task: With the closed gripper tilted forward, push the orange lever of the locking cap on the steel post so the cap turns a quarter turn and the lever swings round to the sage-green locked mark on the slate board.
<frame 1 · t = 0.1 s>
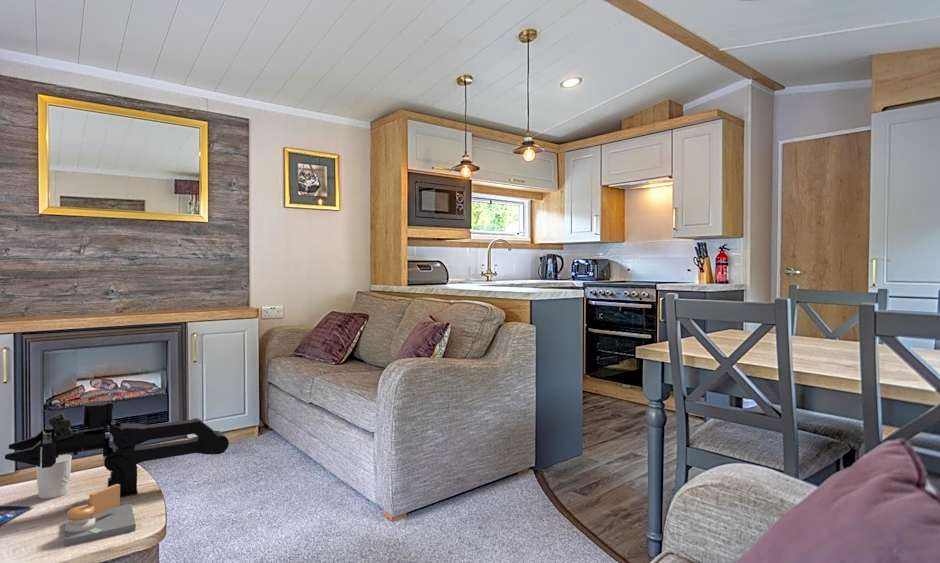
hand: (6, 451, 134), 17 cm above the table, tool horizontal, fingers open, 9 cm apart
lever cap: (95, 503, 130), point 6 cm above the table, hinge at 0.0°
white cup: (53, 494, 148), on the table
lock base: (100, 526, 130), on the table
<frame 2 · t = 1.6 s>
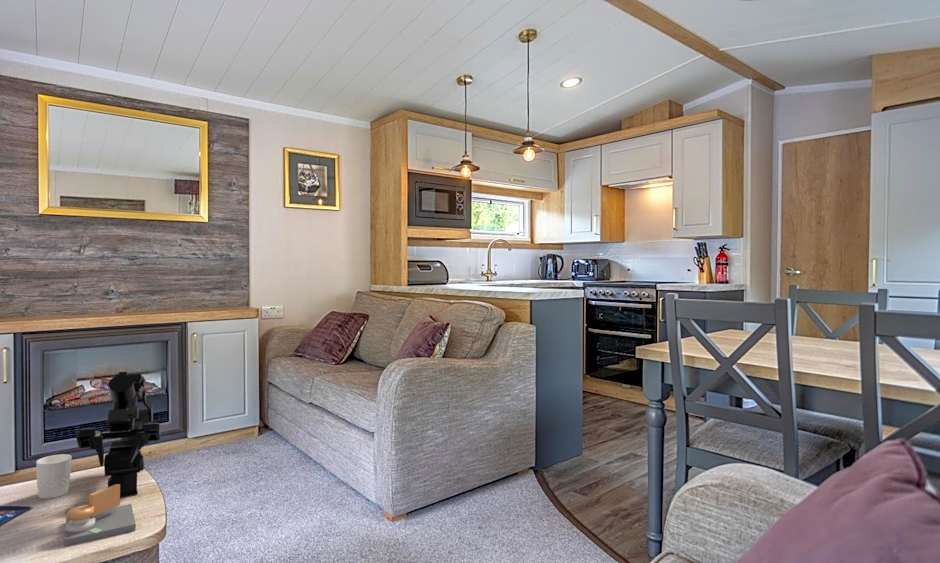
hand: (116, 464, 137), 13 cm above the table, tool tilted 45°, fingers open, 6 cm apart
nothing on the table moved.
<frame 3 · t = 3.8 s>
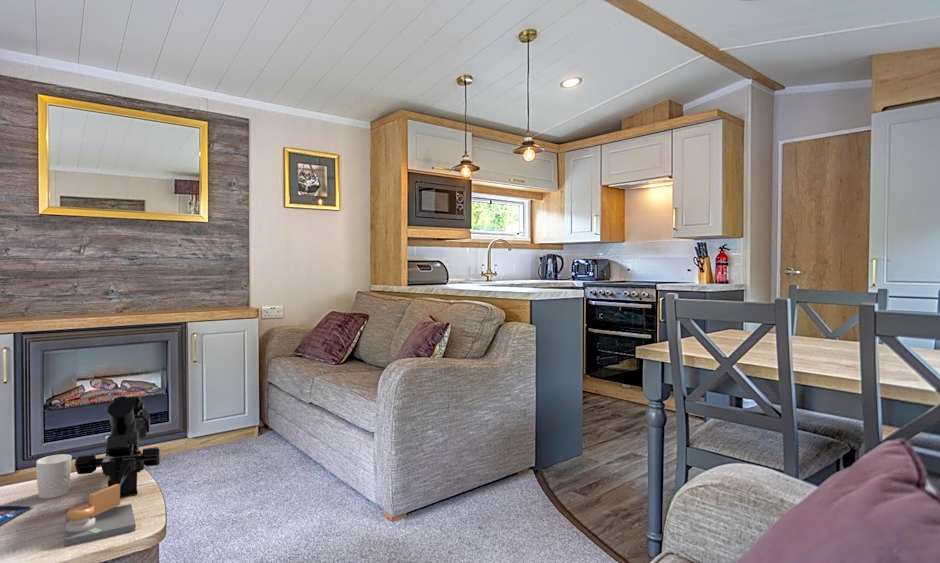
hand: (115, 490, 136), 7 cm above the table, tool tilted 45°, fingers closed
lever cap: (95, 503, 130), point 6 cm above the table, hinge at 0.0°, touching gripper
everything else where it was.
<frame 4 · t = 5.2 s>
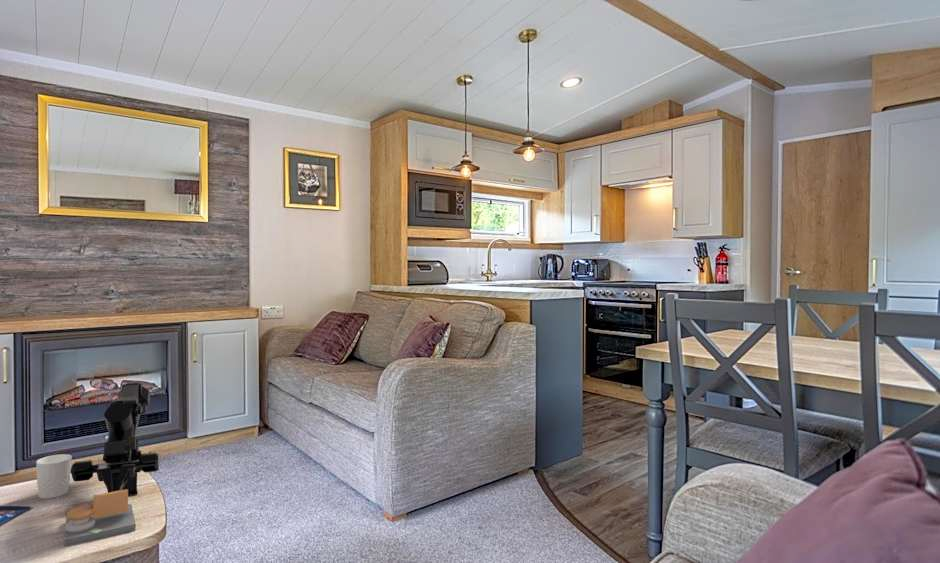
hand: (113, 498, 131), 7 cm above the table, tool tilted 45°, fingers closed, pressing on lever cap
lever cap: (98, 505, 128), point 6 cm above the table, hinge at -33.8°, touching gripper
everything else where it was.
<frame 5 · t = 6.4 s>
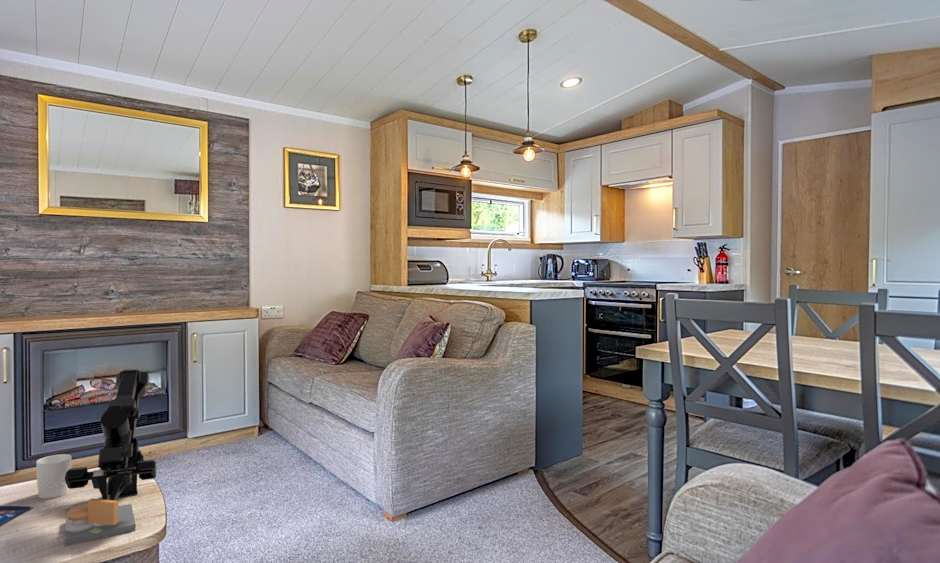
hand: (107, 507, 127), 6 cm above the table, tool tilted 45°, fingers closed
lever cap: (93, 510, 126), point 6 cm above the table, hinge at -79.5°, touching gripper
everything else where it was.
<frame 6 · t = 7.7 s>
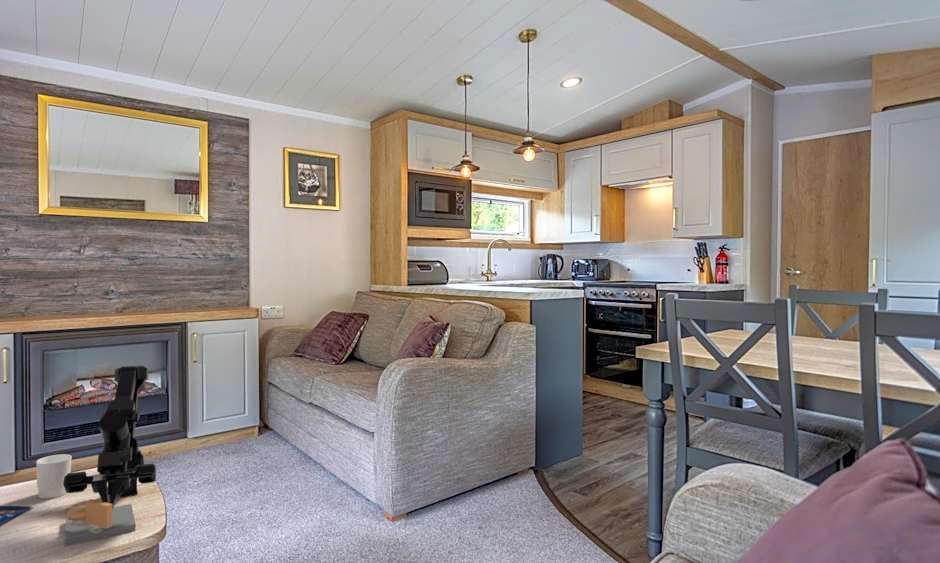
hand: (107, 512, 125), 6 cm above the table, tool tilted 45°, fingers closed
lever cap: (91, 511, 125), point 6 cm above the table, hinge at -90.0°, touching gripper
everything else where it was.
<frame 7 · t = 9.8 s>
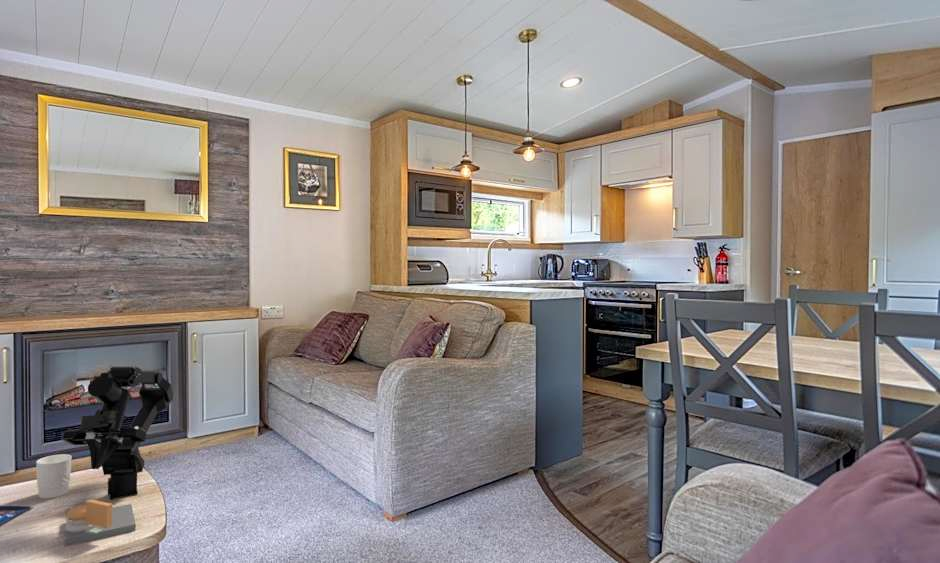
hand: (94, 468, 134), 13 cm above the table, tool tilted 35°, fingers closed
lever cap: (91, 511, 125), point 6 cm above the table, hinge at -90.1°
everything else where it was.
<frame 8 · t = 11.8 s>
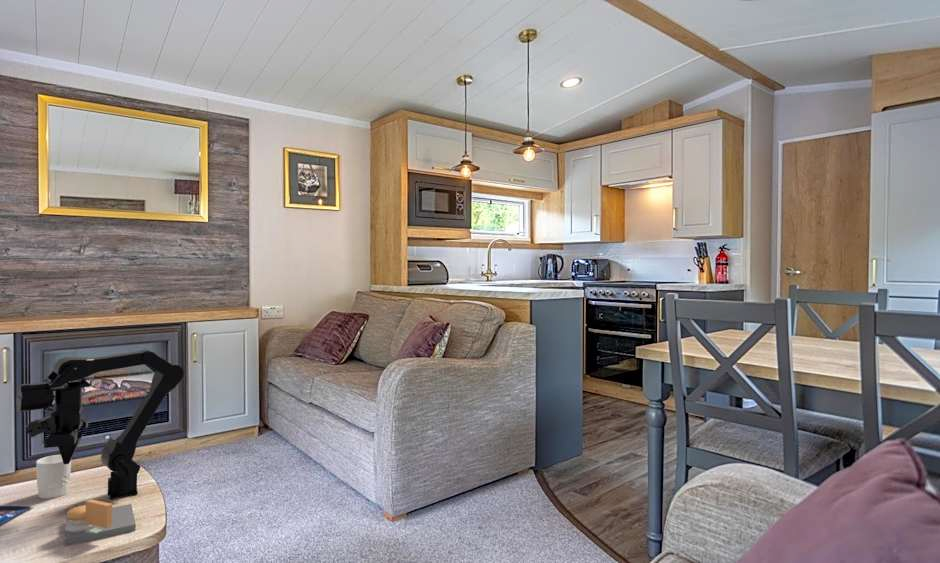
hand: (66, 463, 139), 12 cm above the table, tool pointing down, fingers closed
nothing on the table moved.
at the end: lever cap at -90° (first picture: +0°); white cup moved 0.2 cm from its start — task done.
